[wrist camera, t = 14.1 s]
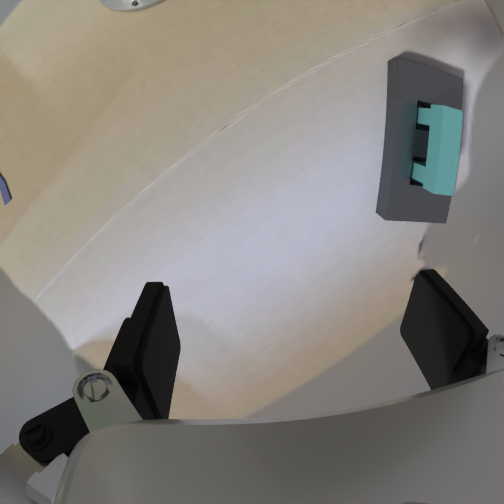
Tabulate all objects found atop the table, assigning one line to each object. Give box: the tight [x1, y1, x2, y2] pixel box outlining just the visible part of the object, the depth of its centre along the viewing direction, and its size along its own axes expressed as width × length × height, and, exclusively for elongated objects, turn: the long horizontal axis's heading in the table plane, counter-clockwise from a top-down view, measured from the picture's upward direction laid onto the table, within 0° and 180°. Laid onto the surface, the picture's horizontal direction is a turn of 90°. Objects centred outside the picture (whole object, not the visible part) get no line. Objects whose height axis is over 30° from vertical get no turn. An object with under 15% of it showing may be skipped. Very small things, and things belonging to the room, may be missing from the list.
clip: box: [410, 104, 463, 196], centre depth 30 cm, size 10×3×8 cm, turn 179°
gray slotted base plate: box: [376, 58, 463, 223], centre depth 32 cm, size 20×10×3 cm, turn 179°
